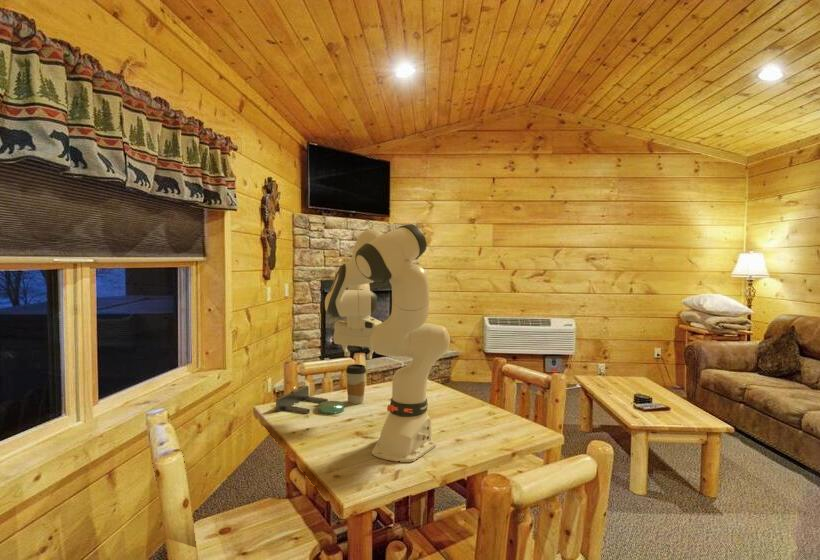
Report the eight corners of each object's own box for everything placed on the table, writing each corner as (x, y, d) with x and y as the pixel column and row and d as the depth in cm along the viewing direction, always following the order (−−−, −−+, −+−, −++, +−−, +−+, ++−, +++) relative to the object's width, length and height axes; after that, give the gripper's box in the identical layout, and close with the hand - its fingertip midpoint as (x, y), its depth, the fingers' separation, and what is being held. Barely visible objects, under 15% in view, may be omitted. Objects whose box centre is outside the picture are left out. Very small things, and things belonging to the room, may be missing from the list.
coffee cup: (355, 397, 194) (355, 363, 194) (369, 401, 189) (370, 366, 189) (341, 402, 187) (341, 366, 187) (356, 406, 183) (356, 369, 182)
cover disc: (335, 416, 171) (335, 410, 171) (313, 413, 175) (313, 406, 175) (348, 408, 181) (348, 402, 180) (326, 405, 184) (326, 399, 184)
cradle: (303, 415, 170) (303, 397, 170) (275, 411, 175) (275, 393, 175) (331, 400, 189) (331, 384, 189) (305, 397, 194) (305, 381, 193)
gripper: (330, 320, 173) (330, 356, 174) (379, 324, 166) (378, 362, 167) (338, 318, 179) (338, 353, 180) (386, 322, 172) (385, 358, 172)
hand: (358, 357), depth 173 cm, fingers open, 8 cm apart
